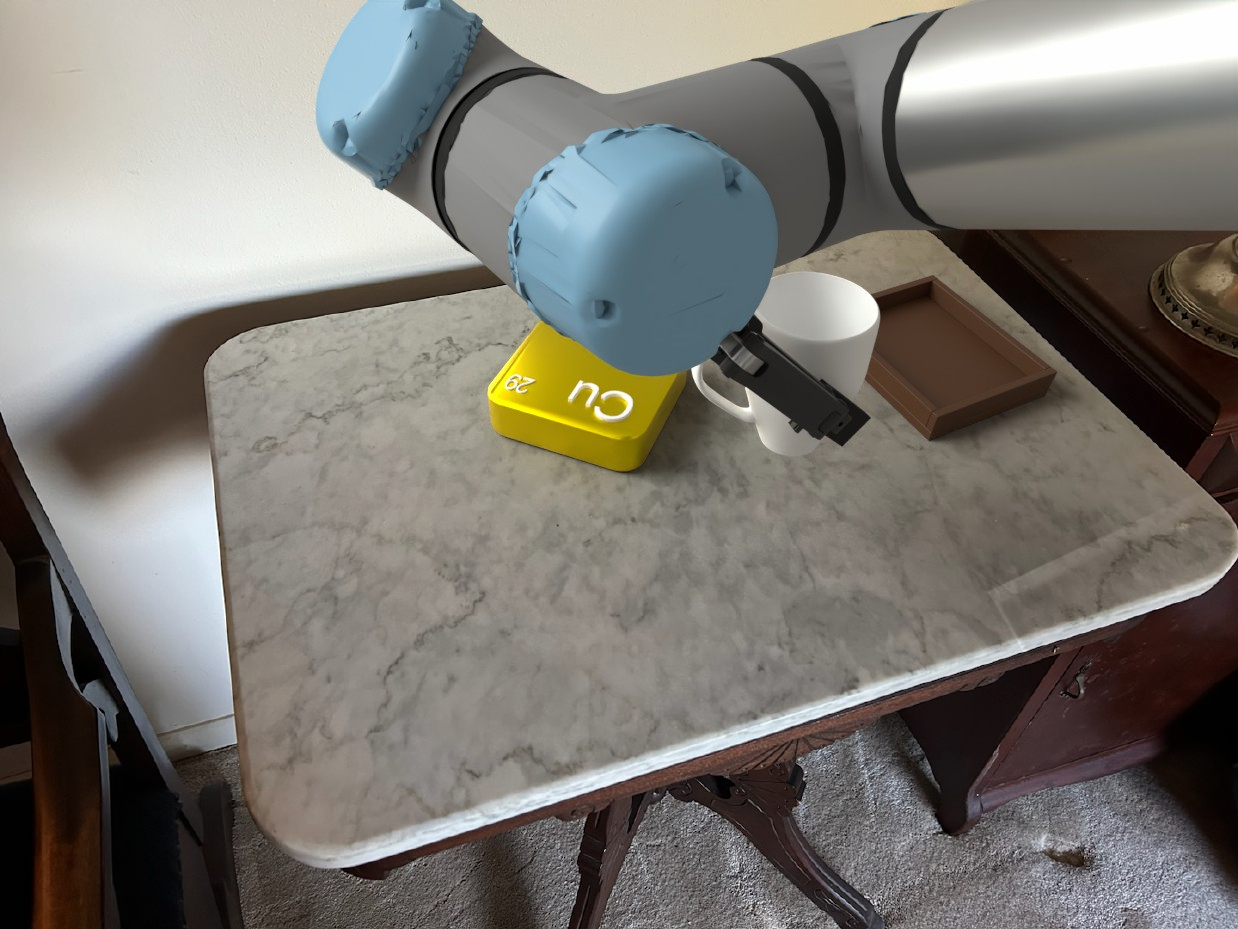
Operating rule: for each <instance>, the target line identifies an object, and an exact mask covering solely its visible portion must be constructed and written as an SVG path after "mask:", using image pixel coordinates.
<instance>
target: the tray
mask: <svg viewBox="0 0 1238 929" xmlns="http://www.w3.org/2000/svg"><path fill="white" fill-rule="evenodd" d="M869 294H870V295H871V296H872V297H873V298H874V299H875V301H876V303H877V305H878V307H879V310H880V323H879V328H878V333H877V336H876V340H875V344H874V347H873V351H872V355H871V359H870V362H869V366H868V369H867V373H866V376H865V379H864V381H866V383H867V384H868V385H870V386H871V387H872V388H873V389H874V390H875V391H876V392H877V393H878V394H879V395H880V396H881V397H882V398H884V400H886V402H888V403H889V404H890V405H891V406H892V407H893V409H895V410H896V411H897V412H898V413H899V414H900V415H901V416H902V417H903V418H904V419H905V420H906V421H907V422H908V423H909V424H910V425H911V426H912V427H914V428H915V429H916V430H917V431H918V432H919V433H920V434H921V435H922V436H923V437H924V438H925V439H926V440H927V441H931V440H934V439H936V438H939V437H942V436H944V435H946V434H949V433H952V432H955V431H957V430H960V429H962V428H964V427H967V426H970V425H973V424H975V423H978V422H980V421H983V420H985V419H988V418H990V417H993V416H995V415H998V414H1001V413H1004V412H1006V411H1008V410H1011V409H1014V408H1017V407H1018V406H1022V405H1024V404H1027V403H1029V402H1032V401H1034V400H1037V399H1039V398H1042V397H1044V396H1045V397H1046V395H1047V393H1048V392H1049V389H1050V387H1051V386H1052V384H1053V381H1055V380H1054V379H1055V378H1056V376H1057V374H1058V371H1057V370H1056V369H1055V368H1053V367H1052V366H1051V365H1050V364H1048V363H1047V362H1046V361H1044V360H1043V359H1042V358H1041V357H1039V356H1038V355H1036V353H1034V352H1033V351H1031V350H1030V349H1029V348H1027V347H1026V346H1025V344H1023V343H1021V342H1020V341H1018V340H1017V339H1016V338H1015V337H1014V336H1012V335H1011V334H1010V333H1008V332H1007V331H1006V330H1004V329H1003V328H1002V327H1001V326H999V325H998V324H997V323H996V322H995V321H993V320H992V319H990V318H989V317H988V316H987V315H986V314H984V313H982V312H981V311H980V310H979V309H978V308H976V307H975V306H974V305H972V303H970V302H968V300H966V299H964V298H963V297H962V296H961V295H959V294H958V293H957V292H956V291H954V290H953V289H951V288H950V287H949V286H948V285H947V284H945V282H943V281H941V280H940V279H939V278H938V277H937V276H936V275H934V274H932V275H928V276H925V277H921V278H918V279H915V280H912V281H908V282H906V283H903V284H899V285H896V286H893V287H889V288H886V289H883V290H879V291H877V292H873V293H869Z"/></svg>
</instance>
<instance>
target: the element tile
mask: <svg viewBox="0 0 1238 929" xmlns="http://www.w3.org/2000/svg"><path fill="white" fill-rule="evenodd" d="M687 375H688V370H686V371H683V372H680V373H676V374H671V375H665V376H640V375H633V374H629V373H626V372H623V371H621V370H618V369H616V368H614V367H612V366H610V365H609V364H607V363H605V362H604V361H602V360H601V359H600V358H598V357H597V356H595V355H594V354H593V353H591V352H590V351H589V350H587V349H586V348H585V347H583V346H582V345H581V344H579V343H578V342H576V341H573V340H572V339H571V338H567V337H564V336H562V335H560V334H559V333H558V332H556V331H555V330H554V329H553V328H552V327H550V325H547V324H545V323H544V322H543V321H541V320H540V319H539V321H538V322H537V324H536V325H535V326H534V327H533V329H532V330H531V332H530V333H529V334H528V335H527V336H526V338H525V339H524V340H523V342H522V343H520V345H519V347H518V348H517V349H516V351H515V352H514V353H513V355H511V357H510V358H509V360H508V361H507V362H506V363H505V364H504V366H503V367H502V368H501V370H500V371H499V372H498V373H497V375H496V376H495V377H494V378H493V380H492V381H491V382H490V384H489V385H488V389H487V401H488V409H489V417H490V424H491V425H492V428H493V431H495V432H496V433H497V434H499V435H500V436H503V437H505V438H508V439H511V440H514V441H518V442H521V443H525V444H526V445H527V444H528V445H531V446H535V447H538V448H541V449H544V450H547V451H550V452H553V453H555V454H556V453H557V454H559V455H563V456H567V457H569V458H573V459H576V460H580V461H582V462H585V463H589V464H592V465H596V466H598V467H602V468H605V469H608V470H611V471H615V472H631V471H634V470H636V469H638V468H639V467H641V466H642V465H643V464H644V463H645V461H646V460H647V458H648V456H649V454H650V452H651V450H652V448H653V446H654V445H655V443H656V441H657V439H658V437H659V435H660V433H661V432H662V430H663V428H664V426H665V424H666V422H667V420H668V418H669V417H670V415H671V414H672V411H673V409H674V407H675V405H676V404H677V402H678V400H679V398H680V396H681V395H682V392H683V390H684V389H685V386H686V383H687Z"/></svg>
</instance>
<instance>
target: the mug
mask: <svg viewBox="0 0 1238 929" xmlns="http://www.w3.org/2000/svg"><path fill="white" fill-rule="evenodd" d="M870 294H871V293H869V292H868V291H867V290H866V289H864V287H862V286H860V285H859V284H857V283H855V282H853V281H850V280H848V279H846V278H843V277H840V276H837V275H833V274H829V273H824V272H817V271H816V272H815V271H794V272H787V273H783V274H778V275H776V276H773V277H771V280H770V283H769V286H768V288H767V290H766V293H765V295H764V297H763V299H762V301H761V303H760V304H759V306H758V308H757V310H756V311H755V313H754V314H755V315H756V316H757V318H758V319H759V320H760V321H761V322H762V324H763V330H762V333H764V334H765V335H766V336H767V337H768V338H769V339H771V340H772V341H773V342H774V343H775V344H776V345H778V346H779V347H780V348H781V349H782V350H784V351H785V352H786V353H787V354H788V355H789V356H791V357H792V358H793V359H794V360H795V361H796V362H798V363H799V364H800V365H801V366H802V367H804V368H805V369H806V370H807V371H808V372H809V373H811V374H812V375H813V376H814V377H815V378H817V379H818V380H819V381H820V380H821V379H823V380H824V381H826V382H827V383H828V384H830V385H831V386H832V387H834V388H835V389H836V390H837V391H839V392H840V393H841V394H843V395H844V396H845V397H847V398H848V399H849V400H850V401H852V402H853V403H854V401H855V400H856V398H857V396H858V395H859V392H860V390H861V388H862V386H863V384H864V381H865V376H866V373H867V369H868V366H869V362H870V359H871V355H872V351H873V347H874V344H875V340H876V336H877V333H878V328H879V323H880V310H879V307H878V305H877V303H876V301H875V299H874V298H873V297H872V296H871V295H870ZM704 363H705V362H703V363H701V364H699V365H697V366H695V367H693V368H691V374H692V378H693V381H694V383H695V385H696V388H698V390H699V392H700V393H701V394H702V395H703V396H704V397H705V398H706V399H707V400H708V401H709V402H711V403H712V404H714V405H715V406H717V408H720V410H721V409H722V410H723V411H725V412H726V413H727V414H729V415H731V416H733V417H734V418H736V419H738V420H739V421H742V422H745V423H749V424H755V427H756V429H757V432H758V435H759V439H760V441H761V443H762V444H763V445H764V446H765V447H766V448H767V449H768V450H770V451H771V452H773V453H774V454H778V455H780V456H784V457H792V458H793V457H797V458H798V457H803V456H806V455H808V454H811V453H812V452H814V451H815V450H816V448H818V447H819V445H820V444H821V443H822V441H824V439H825V438H826V436H824V437H823V438H822V439H821V440H817V439H816V438H813V437H812V436H810V435H809V434H808V432H807V431H806V430H804V429H802V430H801V431H800V432H799V433H796V432H795V431H794V430H793V429H792V427H791V426H790V424H789V423H788V422H789V421H790V420H791V419H789V418H788V417H787V416H785V415H784V414H782V413H781V412H780V411H778V410H777V409H776V408H774V407H773V406H771V405H770V404H769V403H767V402H766V401H765V400H763V399H762V398H760V397H759V396H758V395H756V394H755V393H754V392H752V391H751V390H749V389H748V388H746V387H745V386H744V390H745V393H746V396H747V400H748V405H749V406H748V407H742V406H739V405H736V404H735V403H733V402H732V401H730V400H728V399H727V398H725V397H723V395H721V394H720V393H718V392H717V391H715V390H714V389H713V388H711V387H710V386H709V385H708V384H707V383H706V382H705V381H704V377H703V368H704Z"/></svg>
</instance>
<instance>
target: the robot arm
mask: <svg viewBox="0 0 1238 929" xmlns="http://www.w3.org/2000/svg"><path fill="white" fill-rule="evenodd" d="M483 22H484V19H483V18H482V17H480V16H479V15H478V14H477V13H475V12H468V11H467V10H466V9H465V8H463V7H462V6H461V5H459V4H458V3H457V2H456V1H454V0H367V1H366V2H364V3H363V4H362V6H361V7H360V8H359V9H358V10H357V12H356V13H355V14H354V15H353V17H352V18H351V19H350V20H349V21H348V23H347V25H346V26H345V27H344V29H343V31H342V33H341V34H340V36H339V38H338V40H337V41H336V43H335V45H334V47H333V49H332V51H331V53H330V54H329V56H328V59H327V60H326V62H325V66H324V69H323V72H322V74H321V78H320V81H319V84H318V88H317V93H316V99H315V125H316V130H317V132H318V136H319V138H320V140H321V142H322V143H323V145H324V146H325V148H326V149H327V151H329V152H330V153H331V155H333V157H335V158H337V159H338V160H339V161H341V162H343V163H344V164H346V166H348V167H350V168H351V169H353V170H354V171H355V172H357V173H359V174H360V175H362V176H363V177H365V178H366V179H367V180H369V183H370V184H371V186H372V187H374V188H376V189H378V190H379V191H383V190H385V191H387V192H388V193H389V194H391V195H392V196H395V197H396V198H398V199H400V200H401V201H403V202H404V203H406V204H408V205H409V206H411V207H412V208H413V209H415V210H417V211H418V212H420V213H421V214H422V215H423V216H425V217H426V218H428V219H429V220H430V222H432V223H433V224H434V225H435V226H437V227H438V228H439V229H440V230H441V231H443V232H444V233H445V234H446V235H447V236H448V237H449V238H451V239H452V240H453V241H454V242H455V243H456V244H458V245H459V246H460V247H461V248H462V249H463V250H465V251H467V252H468V253H470V254H472V255H473V256H474V257H475V258H477V260H478V261H479V262H481V263H482V264H483V265H484V266H485V267H486V268H488V270H489V271H491V272H492V273H493V274H494V275H495V276H496V277H497V278H498V279H500V280H501V281H502V282H503V283H504V284H505V285H506V286H507V287H509V289H511V290H512V291H513V293H515V294H516V295H517V296H519V297H520V298H521V299H522V300H523V301H524V302H525V303H526V305H527V307H528V308H529V309H530V310H531V312H532V313H533V314H535V316H537V317H538V318H539V321H540V320H541V321H543V322H544V323H545V324H547V325H550V327H552V328H553V329H554V330H555V331H556V332H558V333H559V334H560V335H562V336H564V337H567V338H571V339H572V340H573V341H576V342H578V343H579V344H581V345H582V346H583V347H585V348H586V349H587V350H589V351H590V352H591V353H593V354H594V355H595V356H597V357H598V358H600V359H601V360H602V361H604V362H605V363H607V364H609V365H610V366H612V367H614V368H616V369H618V370H621V371H623V372H626V373H629V374H633V375H640V376H665V375H671V374H676V373H680V372H683V371H686V370H687V371H688V370H692V368H693V367H695V366H697V365H699V364H701V363H703V362H704V363H705V362H707V361H708V360H711V361H712V362H713V363H715V364H716V365H717V366H718V367H719V370H720V371H721V373H722V374H723V376H724V377H726V378H727V379H731V380H732V381H734V382H736V383H737V384H739V385H740V386H743V387H744V388H745V387H746V388H748V389H749V390H751V391H752V392H754V393H755V394H756V395H758V396H759V397H760V398H762V399H763V400H765V401H766V402H767V403H769V404H770V405H771V406H773V407H774V408H776V409H777V410H778V411H780V412H781V413H782V414H784V415H785V416H787V417H788V418H789V419H791V420H790V421H789V422H788V423H789V424H790V426H791V427H792V429H793V430H794V431H795V432H796V433H799V432H800V431H801V430H802V429H804V430H806V431H807V432H808V434H809V435H810V436H812V437H813V438H816V439H817V440H821V439H822V438H823V437H824V436H826V437H827V438H828V439H829V440H831V441H832V442H834V443H836V445H838V446H840V447H844V446H845V445H846V444H847V443H848V442H849V441H850V440H851V439H852V438H854V436H855V435H856V434H857V433H858V432H859V431H860V429H862V428H863V427H864V426H866V424H867V423H868V422H869V421H870V420H871V419H872V417H871V416H870V415H869V414H868V413H867V412H866V411H865V410H864V409H862V408H861V407H860V406H859V405H857V404H856V403H855V402H854V401H853V402H852V401H850V400H849V399H848V398H847V397H845V396H844V395H843V394H841V393H840V392H839V391H837V390H836V389H835V388H834V387H832V386H831V385H830V384H828V383H827V382H826V381H824V380H823V379H821V380H820V381H819V380H818V379H817V378H815V377H814V376H813V375H812V374H811V373H809V372H808V371H807V370H806V369H805V368H804V367H802V366H801V365H800V364H799V363H798V362H796V361H795V360H794V359H793V358H792V357H791V356H789V355H788V354H787V353H786V352H785V351H784V350H782V349H781V348H780V347H779V346H778V345H776V344H775V343H774V342H773V341H772V340H771V339H769V338H768V337H767V336H766V335H765V334H764V333H762V330H763V324H762V322H761V321H760V320H759V319H758V318H757V316H756V315H755V314H754V313H755V311H756V310H757V308H758V306H759V304H760V303H761V301H762V299H763V297H764V295H765V293H766V290H767V288H768V286H769V283H770V280H771V278H773V277H772V276H773V273H774V270H775V269H777V268H779V267H782V266H785V265H788V264H789V263H792V262H794V261H797V260H798V259H802V258H805V257H807V256H809V255H811V254H814V253H816V252H819V251H823V250H824V249H827V248H830V247H832V246H835V245H837V244H841V243H844V242H846V241H849V240H851V239H854V238H857V237H860V236H862V235H866V234H872V233H875V232H877V233H878V232H883V231H885V232H886V231H961V230H1031V231H1032V230H1037V231H1038V230H1041V231H1042V230H1043V231H1044V230H1045V231H1050V230H1051V231H1053V230H1055V231H1189V232H1190V231H1191V232H1193V231H1194V232H1195V231H1196V232H1197V231H1198V232H1199V231H1200V232H1201V231H1204V232H1205V231H1207V232H1209V231H1213V232H1215V231H1216V232H1217V231H1218V232H1221V231H1222V232H1238V0H969V1H967V2H965V3H962V4H959V5H956V6H953V7H948V8H943V9H936V10H932V11H928V12H926V11H925V12H923V11H922V12H916V13H911V14H908V15H902V16H898V17H896V18H893V19H891V20H886V21H880V22H878V23H876V24H872V25H870V26H867V27H865V28H863V29H860V30H857V31H853V32H849V33H845V34H842V35H837V36H833V37H830V38H826V39H822V40H820V41H816V42H812V43H809V44H806V45H801V46H798V47H795V48H791V49H788V50H784V51H781V52H777V53H774V54H770V55H767V56H760V57H754V58H751V59H748V60H745V61H739V62H734V63H731V64H727V65H723V66H720V67H716V68H712V69H708V70H704V71H701V72H696V73H692V74H688V75H685V76H681V77H677V78H673V79H670V80H666V81H662V82H658V83H655V84H651V85H646V86H642V87H639V88H636V89H631V90H628V91H624V92H623V91H622V92H617V93H601V92H600V91H597V90H595V89H593V88H591V87H589V86H587V85H585V84H582V83H580V82H578V81H576V80H574V79H571V78H568V77H566V76H564V75H563V74H559V73H557V72H555V71H553V70H551V69H550V68H547V67H545V66H543V65H541V64H540V63H537V62H535V61H533V60H530V58H529V59H528V58H527V57H525V56H523V55H521V54H519V53H518V52H516V51H515V50H514V49H513V48H511V47H510V46H509V45H507V44H506V43H504V42H503V41H502V40H501V39H500V38H498V37H497V36H496V35H494V33H492V32H491V31H490V30H489V29H488V28H487V27H486V26H485V25H484V24H483ZM704 363H703V364H704ZM826 437H825V438H826Z"/></svg>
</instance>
